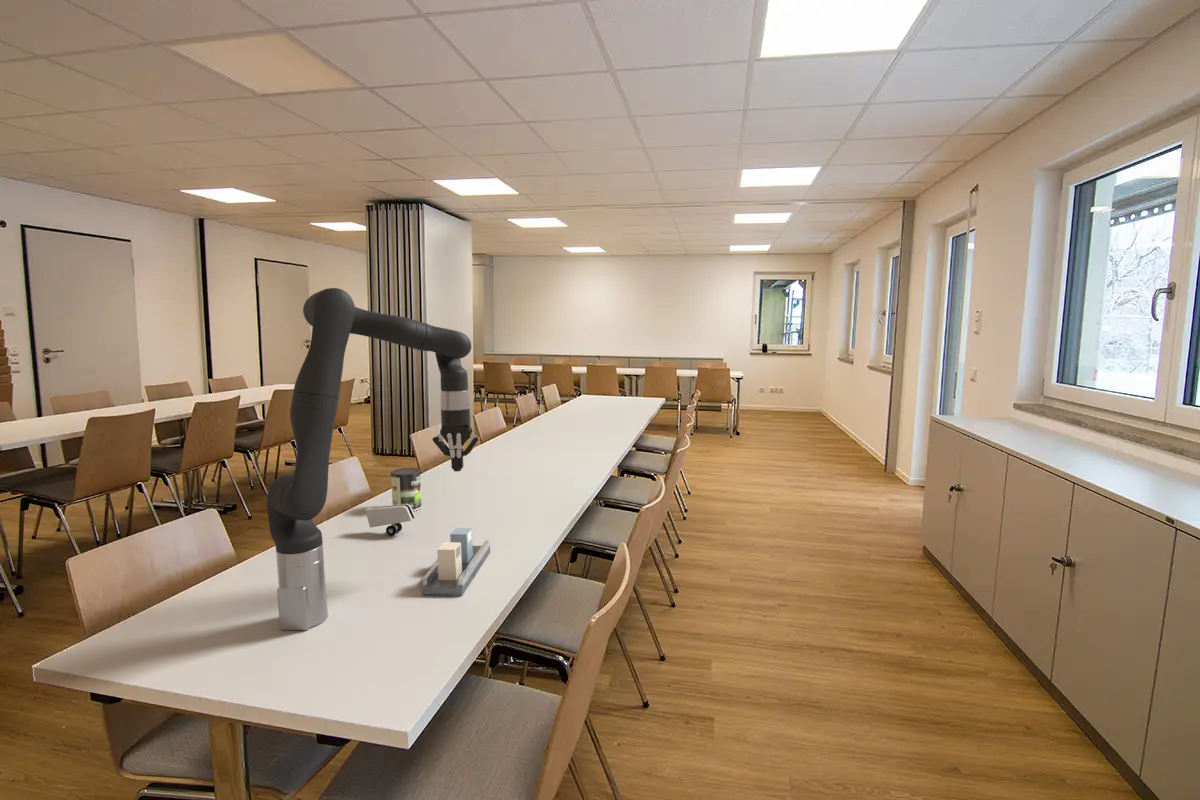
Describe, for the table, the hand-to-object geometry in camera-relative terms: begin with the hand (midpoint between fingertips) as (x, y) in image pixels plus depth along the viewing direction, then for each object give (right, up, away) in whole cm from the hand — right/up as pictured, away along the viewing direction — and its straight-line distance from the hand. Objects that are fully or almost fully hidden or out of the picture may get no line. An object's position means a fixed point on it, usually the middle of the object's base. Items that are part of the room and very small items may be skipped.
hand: (457, 470), depth 156 cm
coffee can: (-32, -21, +56) cm, 68 cm away
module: (0, -25, +3) cm, 25 cm away
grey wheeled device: (-35, -21, +30) cm, 51 cm away
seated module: (0, -26, -8) cm, 27 cm away
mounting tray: (0, -27, -1) cm, 27 cm away
